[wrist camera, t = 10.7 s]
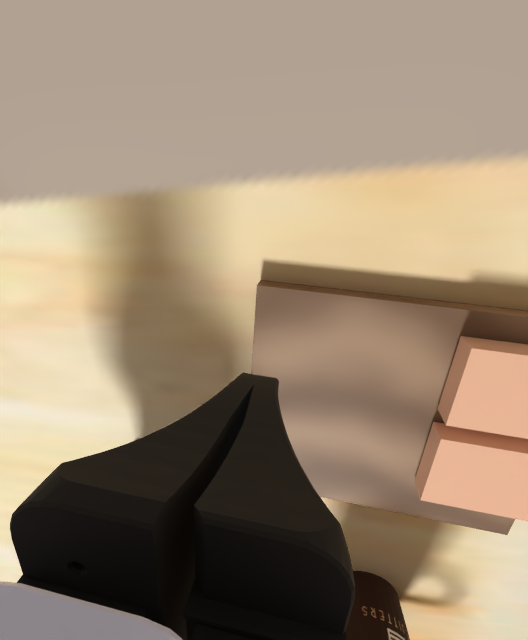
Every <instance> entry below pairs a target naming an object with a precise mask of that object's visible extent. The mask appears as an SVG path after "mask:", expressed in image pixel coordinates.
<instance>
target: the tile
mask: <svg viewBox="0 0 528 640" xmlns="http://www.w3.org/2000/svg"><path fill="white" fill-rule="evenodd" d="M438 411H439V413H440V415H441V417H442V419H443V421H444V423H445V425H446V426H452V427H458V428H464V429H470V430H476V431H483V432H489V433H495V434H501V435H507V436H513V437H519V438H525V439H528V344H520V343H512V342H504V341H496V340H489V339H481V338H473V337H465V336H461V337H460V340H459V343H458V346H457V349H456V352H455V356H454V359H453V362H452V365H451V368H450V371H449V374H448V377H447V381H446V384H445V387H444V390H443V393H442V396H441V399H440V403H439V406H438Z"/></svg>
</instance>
